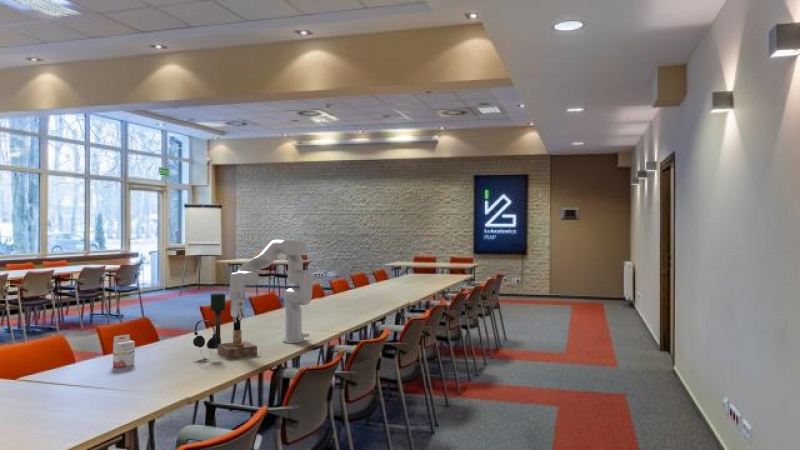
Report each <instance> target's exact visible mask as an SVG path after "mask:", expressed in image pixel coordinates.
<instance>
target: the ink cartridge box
mask: <svg viewBox="0 0 800 450" xmlns="http://www.w3.org/2000/svg"><path fill="white" fill-rule="evenodd" d="M130 336H131V334H121V335H115V336H113V344H112V367H114V368H116V369H119V368H126V367H129V366H134V365H135V351H136V348H135V347H136V346H135V345H136V343H135V342H136V341H134V340H131V337H130Z"/></svg>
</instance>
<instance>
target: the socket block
mask: <svg viewBox="0 0 800 450" xmlns="http://www.w3.org/2000/svg"><path fill="white" fill-rule="evenodd" d="M242 342H243V343H244V345H242V346H231V343H233V341H232V342H225V343H221V344H218V348H217V354H218V355H220V356H222V357H223V358H224V359H226V360H233V359H239V358H246V357H248V358H249V357H255V356H256V357H257V356H258V345H256V344H254V343H252V342H249V341H248V340H244V341H243V340H242Z"/></svg>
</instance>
